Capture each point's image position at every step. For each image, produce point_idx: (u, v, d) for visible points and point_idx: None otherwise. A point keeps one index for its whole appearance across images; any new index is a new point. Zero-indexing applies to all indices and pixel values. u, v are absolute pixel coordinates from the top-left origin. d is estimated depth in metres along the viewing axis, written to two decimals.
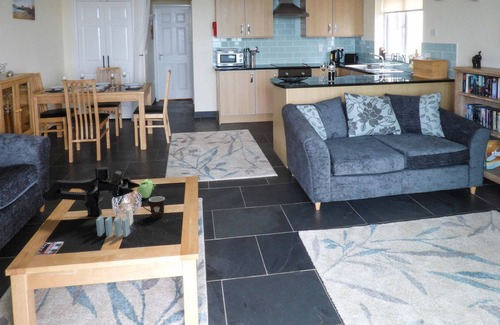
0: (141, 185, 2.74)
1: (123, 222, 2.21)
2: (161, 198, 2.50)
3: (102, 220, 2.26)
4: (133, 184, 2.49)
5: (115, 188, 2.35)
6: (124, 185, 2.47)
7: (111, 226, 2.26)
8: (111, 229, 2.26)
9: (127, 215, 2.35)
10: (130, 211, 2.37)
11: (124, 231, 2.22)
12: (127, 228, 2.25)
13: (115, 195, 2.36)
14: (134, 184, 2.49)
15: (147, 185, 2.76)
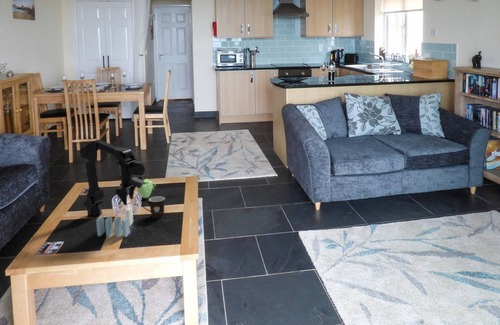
0: None
1: (123, 222, 2.21)
2: (161, 198, 2.50)
3: (102, 220, 2.26)
4: (131, 192, 2.40)
5: (125, 193, 2.25)
6: None
7: (111, 226, 2.26)
8: (111, 229, 2.26)
9: (127, 215, 2.35)
10: (130, 211, 2.37)
11: (124, 231, 2.22)
12: (127, 228, 2.25)
13: (117, 192, 2.25)
14: (131, 194, 2.40)
15: (147, 185, 2.76)
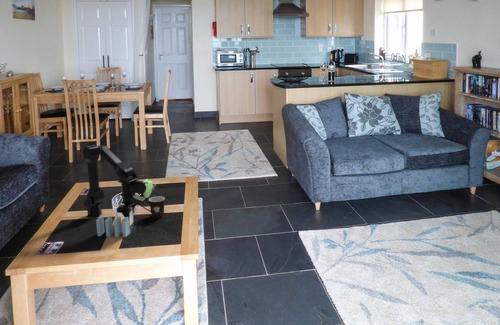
0: None
1: (123, 222, 2.21)
2: (161, 198, 2.50)
3: (102, 220, 2.26)
4: None
5: (126, 211, 2.27)
6: None
7: (111, 226, 2.26)
8: (111, 229, 2.26)
9: None
10: None
11: (124, 231, 2.22)
12: (127, 228, 2.25)
13: (119, 211, 2.28)
14: None
15: (147, 185, 2.76)
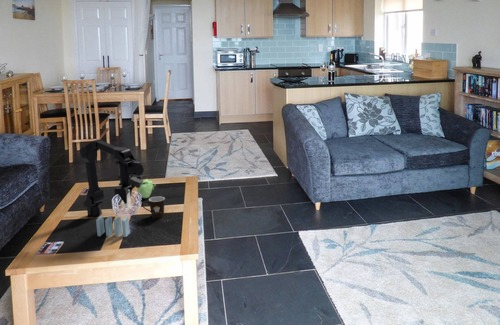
0: (141, 185, 2.74)
1: (123, 222, 2.21)
2: (161, 198, 2.50)
3: (102, 220, 2.26)
4: None
5: (123, 193, 2.24)
6: None
7: (111, 226, 2.26)
8: (111, 229, 2.26)
9: None
10: (128, 193, 2.34)
11: (124, 231, 2.22)
12: (127, 228, 2.25)
13: (116, 192, 2.25)
14: None
15: (147, 185, 2.76)
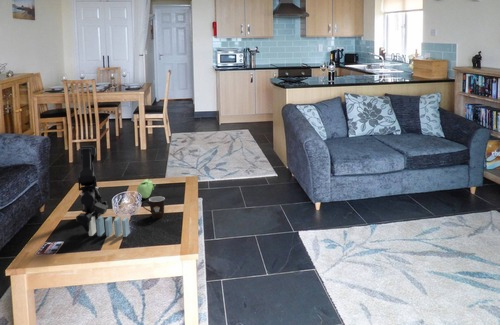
0: (141, 185, 2.74)
1: (123, 222, 2.21)
2: (161, 198, 2.50)
3: (102, 220, 2.26)
4: (95, 218, 2.30)
5: (86, 220, 2.15)
6: None
7: (111, 226, 2.26)
8: (111, 229, 2.26)
9: (89, 225, 2.23)
10: (92, 220, 2.25)
11: (124, 231, 2.22)
12: (127, 228, 2.25)
13: (78, 219, 2.15)
14: (95, 219, 2.30)
15: (147, 185, 2.76)
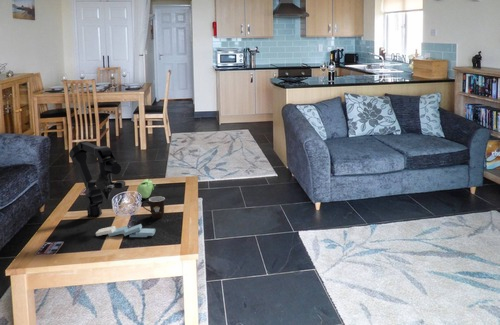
0: (141, 185, 2.74)
1: None
2: (161, 198, 2.50)
3: None
4: None
5: None
6: None
7: None
8: None
9: (106, 232, 2.23)
10: None
11: None
12: None
13: None
14: None
15: (147, 185, 2.76)
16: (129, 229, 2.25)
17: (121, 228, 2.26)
